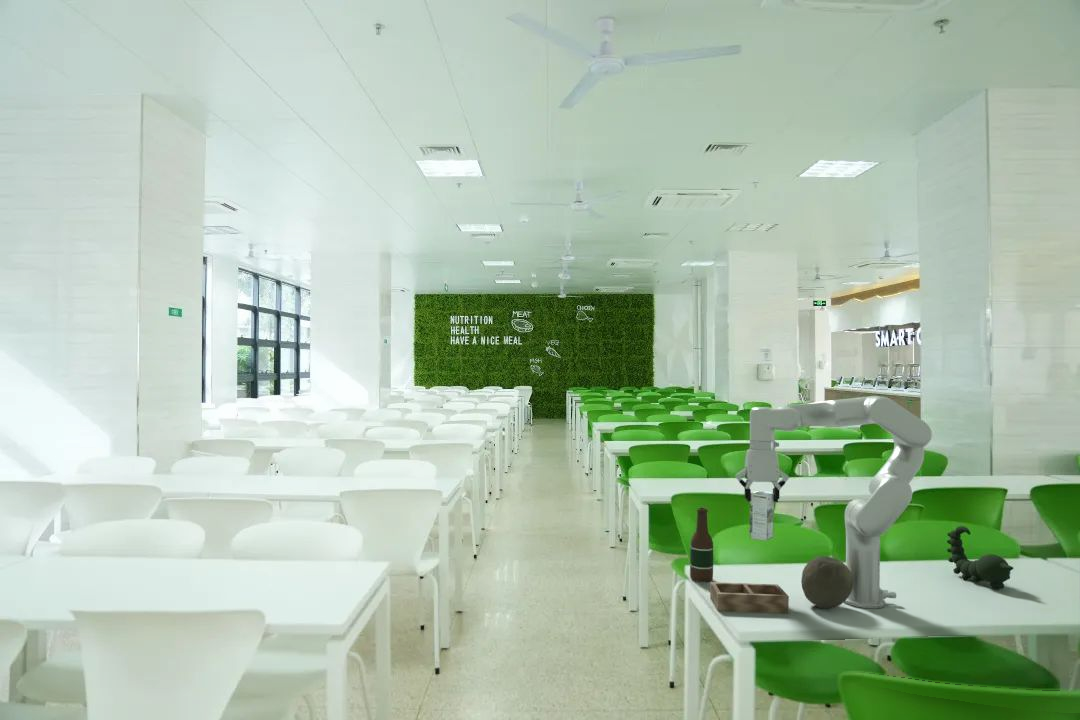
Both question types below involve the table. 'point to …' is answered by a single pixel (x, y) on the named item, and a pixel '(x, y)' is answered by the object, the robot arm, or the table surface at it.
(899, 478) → the robot arm
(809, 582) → the cantaloupe
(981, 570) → the toy figurine
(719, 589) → the slot rack
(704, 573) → the beer bottle
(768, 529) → the syrup box
